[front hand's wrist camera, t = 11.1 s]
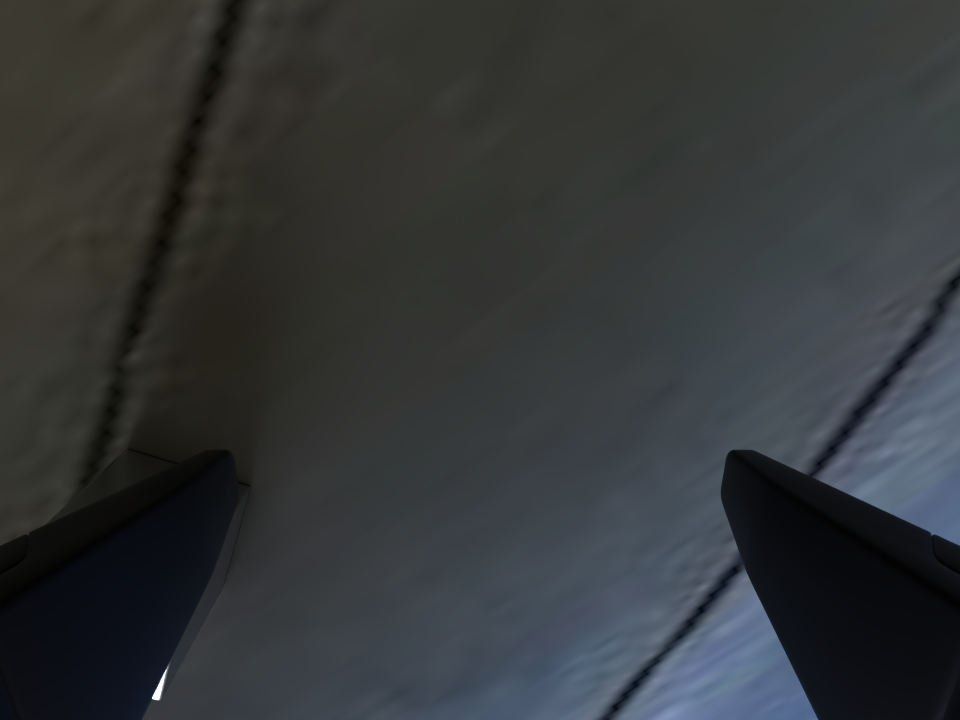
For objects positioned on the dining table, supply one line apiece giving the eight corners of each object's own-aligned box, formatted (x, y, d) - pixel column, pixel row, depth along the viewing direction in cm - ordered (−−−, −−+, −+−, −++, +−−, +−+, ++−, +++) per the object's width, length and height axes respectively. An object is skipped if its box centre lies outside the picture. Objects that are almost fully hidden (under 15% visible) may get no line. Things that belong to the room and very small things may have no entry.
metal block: (223, 587, 22) (160, 702, 18) (106, 554, 22) (11, 664, 17) (251, 485, 21) (189, 585, 16) (126, 447, 20) (27, 539, 16)
